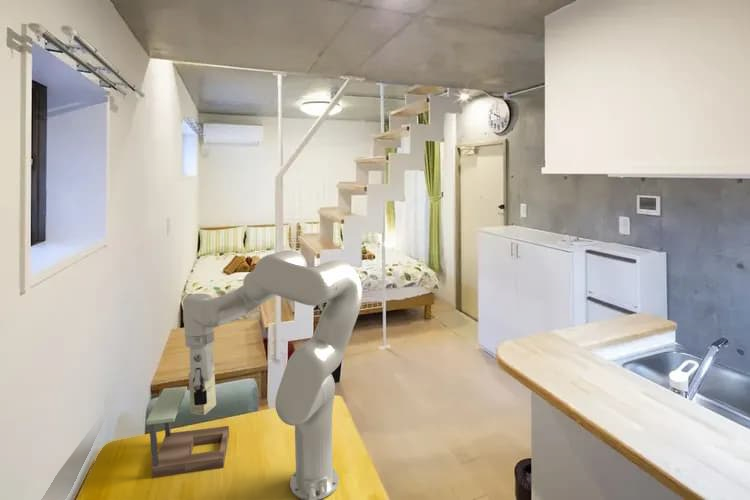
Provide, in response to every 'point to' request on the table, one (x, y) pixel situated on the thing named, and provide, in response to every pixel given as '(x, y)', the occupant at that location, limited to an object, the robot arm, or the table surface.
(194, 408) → the skincare box
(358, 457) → the table surface
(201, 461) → the socket board
